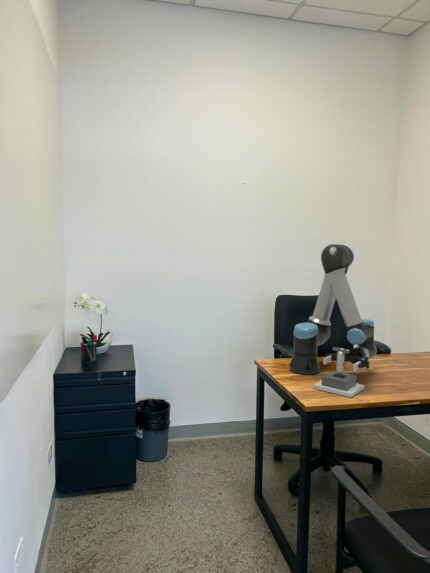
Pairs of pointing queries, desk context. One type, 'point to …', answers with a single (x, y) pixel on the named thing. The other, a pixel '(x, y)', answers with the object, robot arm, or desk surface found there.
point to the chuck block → (339, 384)
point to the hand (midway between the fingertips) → (338, 364)
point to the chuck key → (340, 361)
